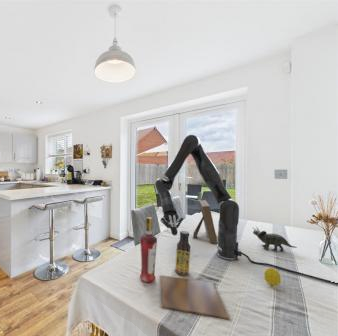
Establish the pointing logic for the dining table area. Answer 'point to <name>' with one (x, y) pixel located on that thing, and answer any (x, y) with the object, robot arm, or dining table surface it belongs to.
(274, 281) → the lemon
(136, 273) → the dining table surface
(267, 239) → the toy dinosaur
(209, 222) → the photo frame
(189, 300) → the wooden board
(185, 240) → the sauce bottle
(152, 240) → the liquor
